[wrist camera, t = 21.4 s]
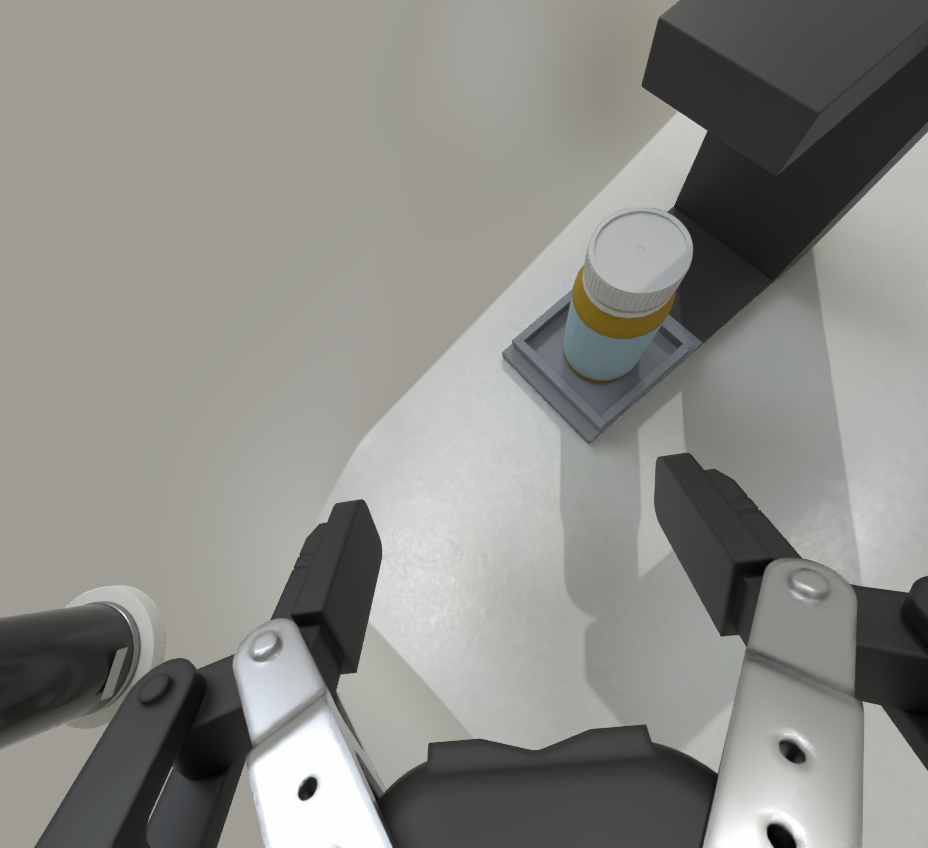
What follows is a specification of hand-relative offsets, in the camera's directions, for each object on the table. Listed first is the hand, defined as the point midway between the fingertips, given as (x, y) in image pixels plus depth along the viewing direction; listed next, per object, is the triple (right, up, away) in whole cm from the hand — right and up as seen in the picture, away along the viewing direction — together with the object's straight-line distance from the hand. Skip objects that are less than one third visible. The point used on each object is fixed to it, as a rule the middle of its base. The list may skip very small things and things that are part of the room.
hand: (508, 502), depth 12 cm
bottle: (+12, +9, +29) cm, 32 cm away
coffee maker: (+17, +14, +30) cm, 37 cm away
